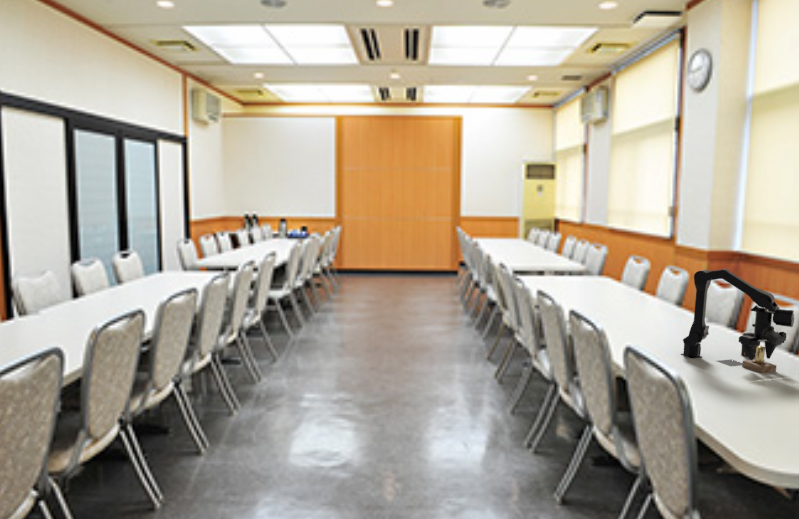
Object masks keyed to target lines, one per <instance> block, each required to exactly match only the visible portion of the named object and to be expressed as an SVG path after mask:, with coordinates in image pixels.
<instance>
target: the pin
mask: <svg viewBox="0 0 799 519" xmlns="http://www.w3.org/2000/svg"><path fill="white" fill-rule="evenodd" d="M765 355H766V350H765V346H763V345H759V346H757V348H756V358H755V359H754V360H755V363H756V364H759V365H764V362H765Z"/></svg>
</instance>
